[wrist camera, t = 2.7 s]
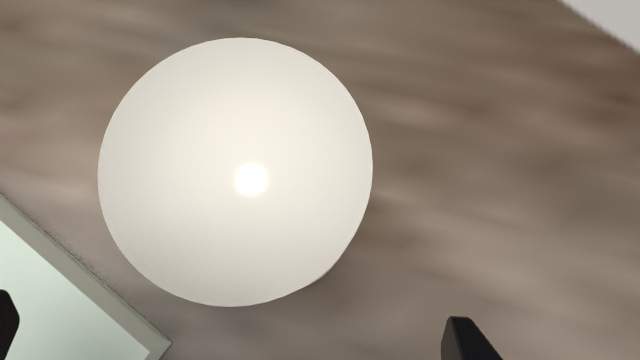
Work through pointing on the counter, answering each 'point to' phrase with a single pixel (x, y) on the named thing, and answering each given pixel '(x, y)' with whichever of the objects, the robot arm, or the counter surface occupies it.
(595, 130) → the counter surface
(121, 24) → the counter surface
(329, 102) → the canister
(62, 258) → the tray
